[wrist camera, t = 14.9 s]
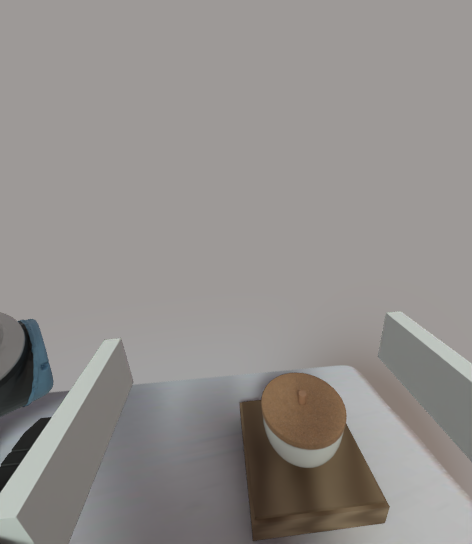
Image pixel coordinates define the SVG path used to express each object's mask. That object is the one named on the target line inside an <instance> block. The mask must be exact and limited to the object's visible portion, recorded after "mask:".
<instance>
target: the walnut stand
mask: <svg viewBox="0 0 472 544" xmlns="http://www.w3.org/2000/svg"><path fill="white" fill-rule="evenodd" d="M240 414H241V425H242V435H243V445H244V455H245V465H246V475H247V485H248V495H249V505H250V515H251V525H252V535H253V541H256V540H263V539H271V538H278V537H285V536H293V535H300V534H307V533H315V532H322V531H330V530H337V529H344V528H352V527H359V526H366V525H374V524H381V523H385V521H386V517H387V514H388V510H389V505H388V503H387V501H386V499H385V497H384V495H383V493H382V491H381V489H380V487H379V486H378V484H377V482H376V480H375V478H374V476H373V474H372V472H371V470H370V468H369V466H368V465H367V463H366V461H365V459H364V457H363V455H362V453H361V451H360V449H359V447H358V445H357V443H356V442H355V440H354V438H353V436H352V434H351V432H350V430H349V428H348V426H347V424H346V425H345V428H344V431H343V436H342V439H341V442H340V445H339V448H338V449H337V451H336V453H335V454H334V456H333V457H332V458H331V459H330V460H329V461H327V462H326V463H324V464H323V465H321V466H318V467H314V468H303V467H298V466H295V465H293V464H291V463H289V462H287V461H286V460H284V459H283V458H282V457H281V456H280V455H279V454H278V453H277V452H276V451H275V450H274V448H273V447H272V445H271V444H270V442H269V439H268V437H267V434H266V431H265V428H264V423H263V414H262V407H261V400H256V401H247V402H242V403H240Z"/></svg>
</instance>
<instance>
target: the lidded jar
mask: <svg viewBox="0 0 472 544" xmlns="http://www.w3.org/2000/svg"><path fill="white" fill-rule="evenodd" d="M261 407H262V414H263V423H264V428H265V431H266V434H267V437H268V439H269V442H270V444H271V445H272V447H273V448H274V450H275V451H276V452H277V453H278V454H279V455H280V456H281V457H282V458H283V459H284V460H286V461H287V462H289V463H291V464H293V465H295V466H298V467H303V468H314V467H318V466H321V465H323V464H324V463H326V462H327V461H329V460H330V459H331V458H332V457H333V456H334V454H335V453H336V451H337V449H338V448H339V445H340V442H341V439H342V436H343V431H344V428H345V425H346V409H345V405H344V403H343V401H342V399H341V397H340V396H339V394H338V393H337V392H336V391H335V390H334V388H332V387H331V386H330V385H329V384H328V383H326V382H325V381H323V380H321V379H319V378H317V377H315V376H312V375H309V374H304V373H288V374H284V375H280V376H278V377H276V378H275V379H273V380H272V381H271V382H270V383H269V384H268V385H267V386H266V387H265V389H264V391H263V394H262V399H261Z"/></svg>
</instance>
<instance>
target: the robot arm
mask: <svg viewBox="0 0 472 544" xmlns="http://www.w3.org/2000/svg"><path fill="white" fill-rule="evenodd" d="M378 357H379V359H381V361H382V362H383V363H384V364H385V365H386V366H387V367H388V369H389V370H390V371H391V372H392V373H393V374H394V375H395V376H396V378H397V379H398V380H399V381H400V382H401V383H402V384H403V385H404V387H405V388H406V389H407V390H408V391H409V392H410V393H411V394H412V396H413V397H414V398H415V399H416V400H417V401H418V402H419V403H420V405H422V407H423V408H424V409H425V410H426V411H427V412H428V414H429V415H430V416H431V417H432V418H433V419H434V420H435V421H436V422H437V424H438V425H439V426H440V427H441V428H442V429H443V430H444V431H445V433H446V434H447V435H448V436H449V437H450V438H451V439H452V440H453V442H454V443H455V444H456V445H457V446H458V447H459V448H460V449H461V450H462V451H463V453H464V454H465V455H466V456H467V457H468V458H469V459H470V461H471V462H472V364H471V363H470V362H469V361H467V360H466V359H465V358H463V357H462V356H460V355H459V354H458V353H457V352H455V351H454V350H452V349H451V348H450V347H448V346H447V345H446V344H444V343H443V342H442V341H440V340H439V339H438V338H436V337H435V336H433V335H432V334H431V333H429V332H428V331H427V330H425V329H424V328H423V327H421V326H420V325H418V324H417V323H416V322H414V321H413V320H412V319H410V318H409V317H408V316H406V315H405V314H404V313H402V312H400V311H399V312H389V313H386V316H385V321H384V327H383V331H382V337H381V343H380V347H379V353H378ZM132 384H133V379H132V375H131V372H130V368H129V364H128V361H127V357H126V354H125V350H124V347H123V343H122V340H121V338H116V339H106V340H104V341H103V343H102V344H101V346H100V347H99V349H98V350H97V352H96V353H95V355H94V356H93V358H92V359H91V361H90V362H89V364H88V365H87V366H86V368H85V369H84V371H83V373H82V374H81V375H80V377H79V378H78V380H77V381H76V383H75V384H74V386H73V387H72V388H71V390H70V391H69V393H68V394H67V396H66V397H65V399H64V400H63V402H62V403H61V405H60V406H59V407H58V409H57V410H56V412H55V413H54V415H53V416H52V417H48V418H40V419H39V420H38V421H37V422H36V423H35V424H34V425H33V426H32V427H30V428H29V429H28V430H27V431H26V432H25V433H24V434H23V435H22V437H21V438H20V439H19V441H18V442H17V443H16V445H15V446H14V447H13V449H12V452H11V453H9V454H8V456H7V457H6V458H5V460H4V461H3V462H2V464H1V467H0V544H68V543H69V541H70V539H71V536H72V534H73V531H74V529H75V526H76V524H77V521H78V519H79V516H80V514H81V511H82V509H83V506H84V504H85V501H86V499H87V496H88V494H89V491H90V489H91V486H92V484H93V481H94V479H95V476H96V474H97V471H98V469H99V466H100V464H101V461H102V459H103V456H104V454H105V451H106V449H107V446H108V444H109V441H110V439H111V437H112V434H113V432H114V429H115V427H116V424H117V422H118V419H119V417H120V414H121V412H122V409H123V407H124V404H125V402H126V399H127V397H128V394H129V392H130V389H131V387H132ZM52 387H53V377H52V372H51V368H50V365H49V362H48V357H47V352H46V349H45V345H44V342H43V338H42V335H41V332H40V328H39V325H38V323H37V322H36V321H35V320H34V319H28V320H20V321H16V320H15V319H14V318H13V317H11V316H9V315H6V314H4V313H0V417H1V416H3V415H5V414H7V413H9V412H12V411H14V410H16V409H18V408H20V407H25V406H27V405H29V404H30V403H31V402H32V401H34V400H36V399H38V398H40V397H42V396H44V395H46V394H47V393H48V392H49V391H50V390H51V389H52Z"/></svg>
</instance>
